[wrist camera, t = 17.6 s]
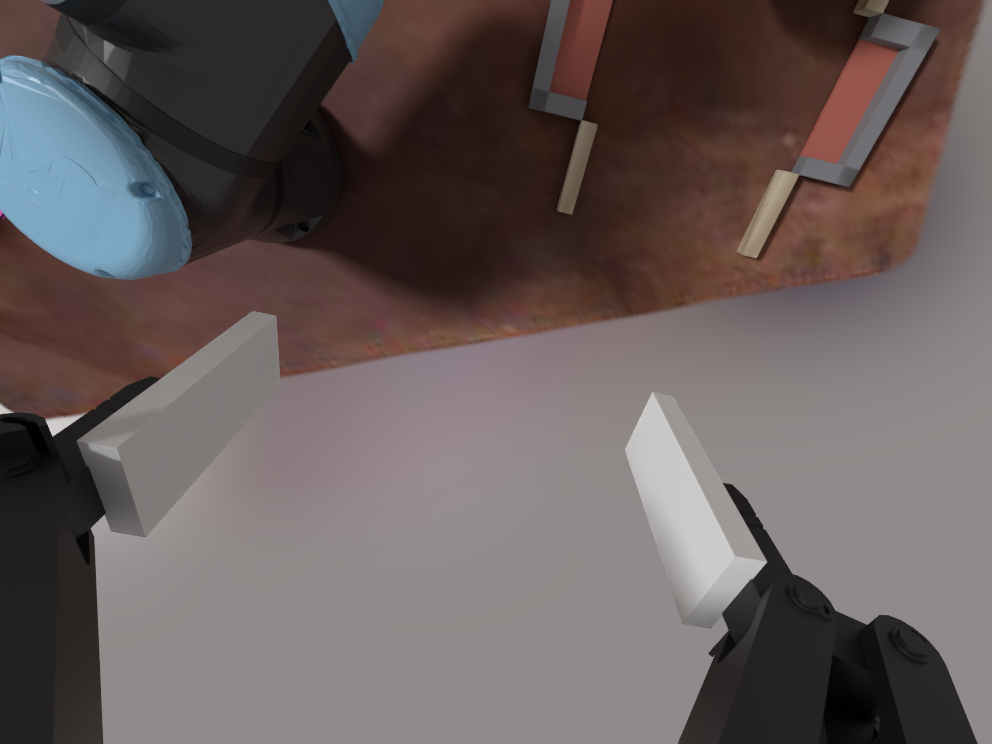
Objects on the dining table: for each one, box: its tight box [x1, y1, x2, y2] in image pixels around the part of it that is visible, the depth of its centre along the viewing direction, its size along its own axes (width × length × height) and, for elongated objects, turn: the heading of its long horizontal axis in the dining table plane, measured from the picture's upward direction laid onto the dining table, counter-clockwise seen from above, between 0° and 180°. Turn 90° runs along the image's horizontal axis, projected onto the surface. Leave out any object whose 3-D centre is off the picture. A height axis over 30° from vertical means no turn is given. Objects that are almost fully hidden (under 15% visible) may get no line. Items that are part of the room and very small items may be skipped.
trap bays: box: [528, 0, 940, 187], centre depth 37 cm, size 31×12×2 cm, turn 78°
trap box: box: [557, 0, 889, 258], centre depth 34 cm, size 21×32×6 cm, turn 168°
